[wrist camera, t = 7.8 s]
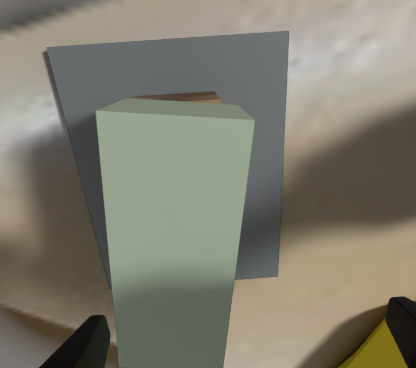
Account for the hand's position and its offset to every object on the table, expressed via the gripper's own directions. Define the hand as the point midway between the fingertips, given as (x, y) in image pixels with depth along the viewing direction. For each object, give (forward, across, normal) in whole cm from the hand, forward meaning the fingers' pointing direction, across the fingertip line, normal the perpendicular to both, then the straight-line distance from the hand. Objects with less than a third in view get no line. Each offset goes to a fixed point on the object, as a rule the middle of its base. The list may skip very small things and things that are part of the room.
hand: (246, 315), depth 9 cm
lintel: (+6, +3, 0) cm, 7 cm away
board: (+12, +3, 0) cm, 12 cm away
